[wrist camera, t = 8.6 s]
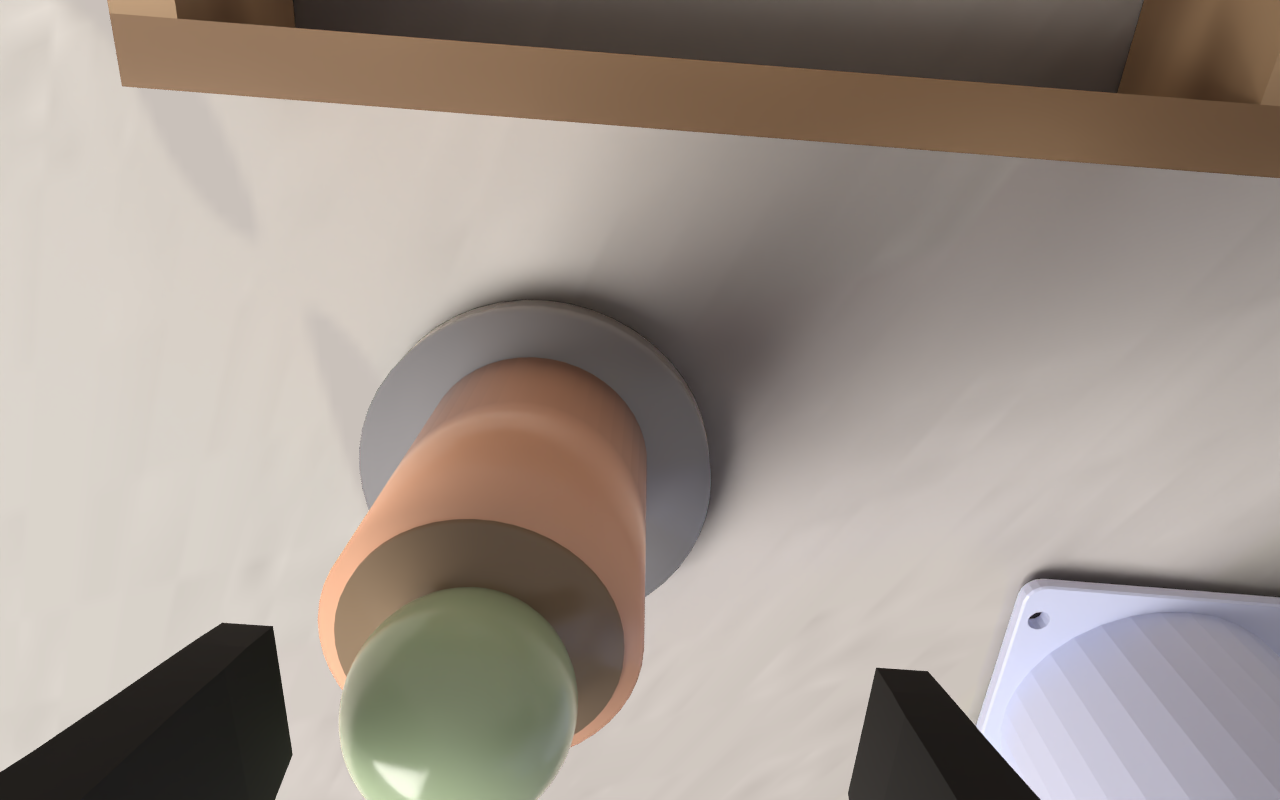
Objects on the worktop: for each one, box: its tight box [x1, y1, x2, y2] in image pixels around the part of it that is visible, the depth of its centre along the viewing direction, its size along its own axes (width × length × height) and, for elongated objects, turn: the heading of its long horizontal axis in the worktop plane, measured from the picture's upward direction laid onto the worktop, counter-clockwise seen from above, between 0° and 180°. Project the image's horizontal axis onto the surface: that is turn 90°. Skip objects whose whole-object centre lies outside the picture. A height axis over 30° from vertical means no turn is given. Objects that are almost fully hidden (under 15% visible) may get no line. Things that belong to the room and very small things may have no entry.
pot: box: [318, 357, 647, 800], centre depth 13 cm, size 5×5×9 cm
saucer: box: [359, 300, 711, 597], centre depth 18 cm, size 8×8×1 cm
